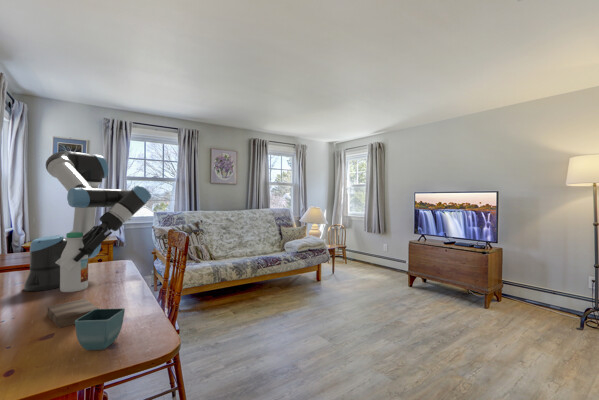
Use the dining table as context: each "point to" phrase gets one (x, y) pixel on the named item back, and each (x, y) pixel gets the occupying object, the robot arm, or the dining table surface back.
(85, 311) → the brown flat block
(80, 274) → the milk bottle
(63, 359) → the dining table surface
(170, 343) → the dining table surface
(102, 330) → the flower pot
